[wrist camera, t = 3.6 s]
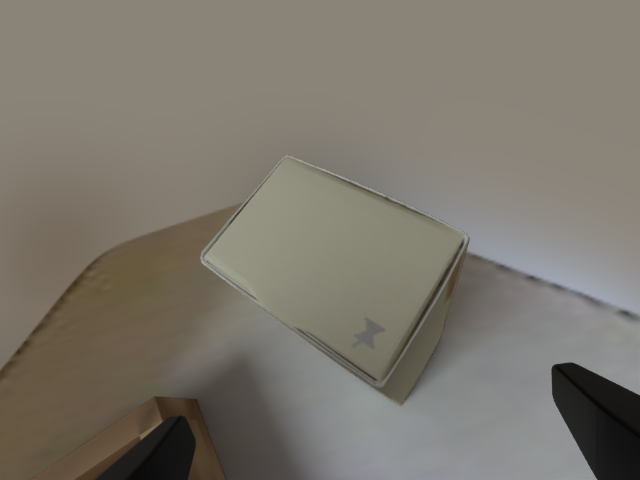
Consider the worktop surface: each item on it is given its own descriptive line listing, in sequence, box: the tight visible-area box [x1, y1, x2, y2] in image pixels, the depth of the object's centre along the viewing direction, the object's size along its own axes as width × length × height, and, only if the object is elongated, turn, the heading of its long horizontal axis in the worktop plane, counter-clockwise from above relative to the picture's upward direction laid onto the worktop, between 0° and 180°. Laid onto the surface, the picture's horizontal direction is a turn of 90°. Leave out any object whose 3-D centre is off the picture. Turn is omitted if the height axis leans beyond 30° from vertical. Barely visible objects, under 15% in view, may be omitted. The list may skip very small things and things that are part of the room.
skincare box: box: [200, 155, 469, 406], centre depth 14 cm, size 6×4×12 cm
